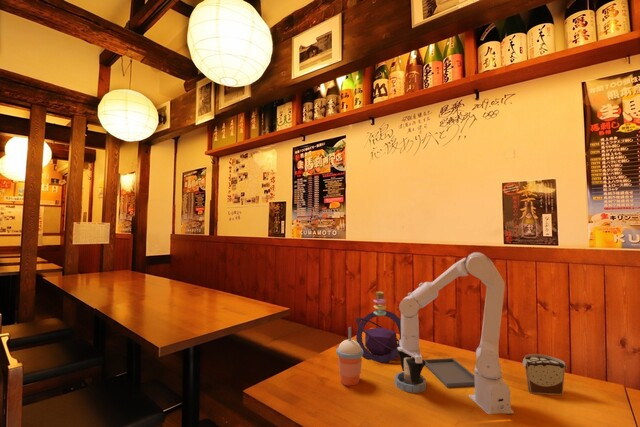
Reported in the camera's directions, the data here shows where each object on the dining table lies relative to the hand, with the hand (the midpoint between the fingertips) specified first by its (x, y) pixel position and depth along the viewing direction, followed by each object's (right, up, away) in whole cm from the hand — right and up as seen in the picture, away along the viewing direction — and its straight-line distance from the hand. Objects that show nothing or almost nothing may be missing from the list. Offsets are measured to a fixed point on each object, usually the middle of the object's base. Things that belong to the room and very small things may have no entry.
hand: (410, 376), depth 102 cm
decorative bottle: (-5, -4, +26) cm, 27 cm away
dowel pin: (0, -3, 0) cm, 3 cm away
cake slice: (+41, -3, -2) cm, 42 cm away
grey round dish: (0, -3, 0) cm, 3 cm away
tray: (+16, -4, +8) cm, 18 cm away
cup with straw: (-19, -4, +3) cm, 20 cm away
